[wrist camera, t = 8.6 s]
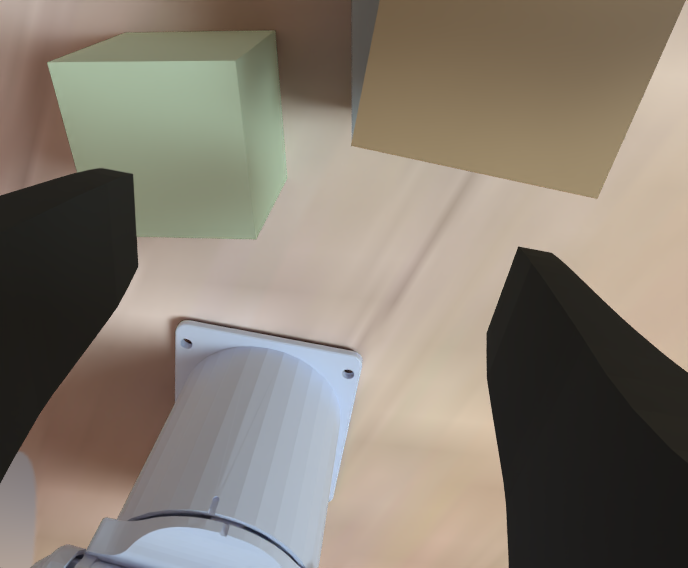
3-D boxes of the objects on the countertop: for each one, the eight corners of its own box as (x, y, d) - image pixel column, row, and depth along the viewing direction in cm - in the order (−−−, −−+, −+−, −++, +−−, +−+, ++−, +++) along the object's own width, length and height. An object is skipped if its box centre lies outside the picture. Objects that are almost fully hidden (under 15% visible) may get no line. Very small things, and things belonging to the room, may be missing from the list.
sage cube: (287, 177, 22) (256, 239, 17) (155, 175, 22) (94, 235, 18) (275, 30, 19) (235, 60, 15) (126, 31, 20) (47, 62, 15)
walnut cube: (549, 126, 16) (597, 198, 12) (368, 86, 16) (351, 145, 12) (629, -89, 13) (727, -95, 9) (414, -136, 13) (412, -165, 9)
